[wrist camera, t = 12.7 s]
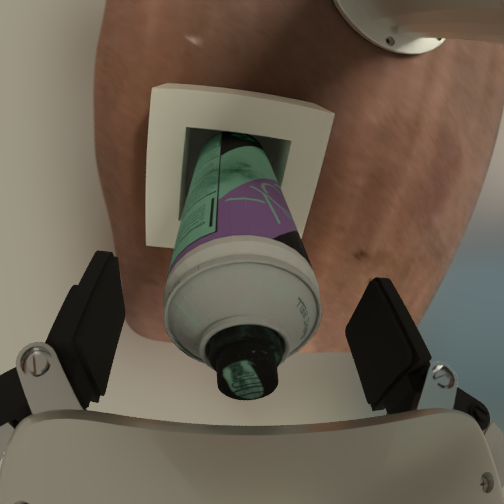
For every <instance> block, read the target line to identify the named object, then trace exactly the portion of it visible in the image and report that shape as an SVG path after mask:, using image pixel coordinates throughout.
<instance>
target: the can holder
mask: <svg viewBox="0 0 504 504" xmlns="http://www.w3.org/2000/svg"><path fill="white" fill-rule="evenodd" d="M334 116H335V113H333V112H331V111H329V110H327V109H325V108H323V107H321V106H319V105H316V104H314V103H311V102H306V101H302V100H297V99H292V98H287V97H282V96H277V95H271V94H265V93H259V92H253V91H246V90H239V89H231V88H223V87H214V86H204V85H192V84H178V83H166V84H163V85H159V86H156V87H153V88H152V92H151V102H150V113H149V126H148V142H147V162H146V246H155V247H165V248H174V246H175V242H176V238H177V234H178V230H179V226H180V222H181V218H182V214H183V211H184V207H185V203H186V199H187V196H188V192H189V188H190V185H191V181H192V178H193V174H194V171H195V167H196V164H197V161H198V157H199V154H200V151H201V149H202V147H203V145H204V144H205V142H206V141H207V140H208V139H209V138H210V137H211V136H213V135H214V134H216V133H218V132H220V131H230V132H238V133H246V134H251V135H253V136H254V137H255V138H256V139H257V140H258V141H259V142H260V144H261V145H262V147H263V149H264V151H265V153H266V156H267V158H268V160H269V163H270V165H271V167H272V170H273V172H274V174H275V177H276V179H277V181H278V184H279V186H280V188H281V191H282V193H283V196H284V198H285V201H286V203H287V205H288V208H289V210H290V213H291V215H292V218H293V220H294V223H295V225H296V228H297V230H298V233H299V235H300V238H301V239H302V235H303V232H304V228H305V225H306V221H307V218H308V214H309V211H310V207H311V204H312V200H313V196H314V193H315V189H316V185H317V182H318V178H319V174H320V170H321V167H322V163H323V159H324V155H325V151H326V148H327V144H328V140H329V136H330V132H331V128H332V124H333V120H334Z"/></svg>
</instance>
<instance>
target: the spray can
mask: <svg viewBox="0 0 504 504" xmlns="http://www.w3.org/2000/svg"><path fill="white" fill-rule="evenodd" d="M321 317H322V304H321V301H320V298H319V286H318V283H317V280H316V277H315V274H314V272H313V269H312V266H311V264H310V261H309V258H308V256H307V253H306V251H305V248H304V246H303V243H302V240H301V238H300V235H299V233H298V230H297V228H296V225H295V223H294V220H293V218H292V215H291V213H290V210H289V208H288V205H287V203H286V201H285V198H284V196H283V193H282V191H281V188H280V186H279V184H278V181H277V179H276V177H275V174H274V172H273V170H272V167H271V165H270V163H269V160H268V158H267V156H266V153H265V151H264V149H263V147H262V145H261V144H260V142H259V141H258V140H257V139H256V138H255V137H254V136H253V135H251V134H246V133H238V132H230V131H220V132H218V133H216V134H214V135H213V136H211V137H210V138H209V139H208V140H207V141H206V142H205V144H204V145H203V147H202V149H201V151H200V154H199V157H198V161H197V164H196V167H195V171H194V174H193V178H192V181H191V185H190V188H189V192H188V196H187V199H186V203H185V207H184V211H183V214H182V218H181V222H180V226H179V230H178V234H177V238H176V242H175V246H174V250H173V255H172V259H171V263H170V268H169V272H168V277H167V281H166V286H165V290H164V324H165V328H166V332H167V333H168V335H169V337H170V339H171V340H172V342H173V343H174V344H175V345H176V346H177V347H178V348H179V349H180V350H181V351H183V352H184V353H185V354H187V355H188V356H190V357H192V358H193V359H196V360H197V361H199V362H202V363H205V364H207V365H208V366H209V367H211V368H212V369H214V370H215V371H216V372H217V384H218V388H219V390H220V391H221V392H222V393H223V394H225V395H226V396H228V397H231V398H233V399H238V400H254V399H258V398H262V397H265V396H267V395H269V394H271V393H272V392H273V391H274V390H275V389H276V387H277V385H278V374H277V367H278V366H279V365H280V364H281V363H283V362H284V361H285V360H286V358H288V357H290V356H291V355H293V354H294V353H296V352H298V351H299V350H300V349H301V348H303V347H304V346H305V345H306V344H307V343H308V342H309V341H310V340H311V338H312V337H313V336H314V335H315V333H316V331H317V329H318V327H319V325H320V321H321Z"/></svg>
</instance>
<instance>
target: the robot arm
mask: <svg viewBox="0 0 504 504" xmlns="http://www.w3.org/2000/svg"><path fill="white" fill-rule="evenodd" d="M333 2H334V4H335V6H336V8H337V9H338V11H339V12H340V14H341V15H342V17H343V18H344V19H345V20H346V21H347V23H348V24H349V25H350V26H351V27H352V28H353V29H354V30H355V31H356V32H358V33H359V34H360V35H361V36H362V37H363V38H365V39H366V40H368V41H370V42H371V43H373V44H374V45H376V46H379V47H381V48H383V49H385V50H388V51H392V52H395V53H401V54H422V53H426V52H430V51H431V50H433V49H435V48H437V47H438V46H440V45H441V44H442V43H443V42H444V41H445V39H463V40H475V41H484V42H493V43H500V44H504V0H333ZM386 39H387V41H388V43H387V42H386ZM124 319H125V307H124V300H123V294H122V287H121V279H120V271H119V263H118V258H117V257H114V256H113V253H112V252H106V251H96V252H95V254H94V256H93V258H92V260H91V262H90V263H89V265H88V267H87V269H86V271H85V273H84V275H83V277H82V279H81V281H80V283H79V285H73V286H72V287H71V289H70V291H69V293H68V295H67V297H66V299H65V301H64V303H63V305H62V307H61V309H60V311H59V313H58V316H57V318H56V320H55V322H54V324H53V326H52V328H51V331H50V333H49V335H48V338H47V340H46V342H45V343H42V342H35V343H31V344H29V345H27V346H25V347H24V348H23V349H22V350H21V351H20V353H19V354H18V356H17V360H16V367H15V368H13V369H11V370H9V371H7V372H5V373H4V374H2V375H0V460H1V459H2V458H3V457H4V458H3V462H2V465H1V470H0V504H504V495H503V491H502V488H503V486H504V434H503V433H502V432H501V430H500V429H499V428H498V427H497V426H496V425H495V424H494V423H493V422H491V423H490V416H489V412H488V410H487V408H486V407H485V405H484V404H482V403H481V402H480V401H478V400H477V399H475V398H473V397H472V396H470V395H469V394H467V393H466V392H464V391H463V390H461V389H459V388H458V387H457V385H458V383H457V381H458V380H457V376H456V374H455V372H454V370H453V369H452V368H451V367H450V366H448V365H447V364H445V363H443V362H434V363H432V364H430V362H429V361H430V360H431V355H430V353H429V351H428V349H427V347H426V345H425V343H424V341H423V339H422V337H421V335H420V333H419V331H418V329H417V327H416V325H415V323H414V321H413V319H412V318H411V316H410V314H409V312H408V310H407V308H406V306H405V305H404V303H403V301H402V299H401V297H400V296H399V294H398V292H397V290H396V289H395V287H394V285H393V283H392V282H391V280H390V279H388V278H378V277H377V278H374V279H373V281H370V282H369V284H368V286H367V288H366V290H365V292H364V294H363V296H362V298H361V300H360V302H359V304H358V306H357V308H356V309H355V311H354V313H353V315H352V317H351V319H350V321H349V323H348V324H347V326H346V330H345V334H346V338H347V341H348V344H349V347H350V350H351V353H352V356H353V359H354V362H355V365H356V368H357V371H358V374H359V377H360V380H361V383H362V387H363V390H364V393H365V397H366V400H367V402H368V404H371V407H372V411H376V410H383V409H385V408H386V411H387V413H386V415H384V416H378V417H371V418H364V419H357V420H348V421H339V422H329V423H318V424H303V425H281V426H227V425H206V424H191V423H179V422H170V421H160V420H152V419H144V418H136V417H129V416H122V415H116V414H110V413H102V412H96V411H87V410H86V408H87V407H89V403H90V401H92V402H96V403H98V402H99V398H100V395H101V396H104V395H105V392H106V388H107V383H108V379H109V375H110V371H111V367H112V363H113V359H114V355H115V351H116V348H117V344H118V341H119V337H120V333H121V330H122V326H123V323H124ZM5 450H6V451H5ZM4 451H5V455H3V452H4Z"/></svg>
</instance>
